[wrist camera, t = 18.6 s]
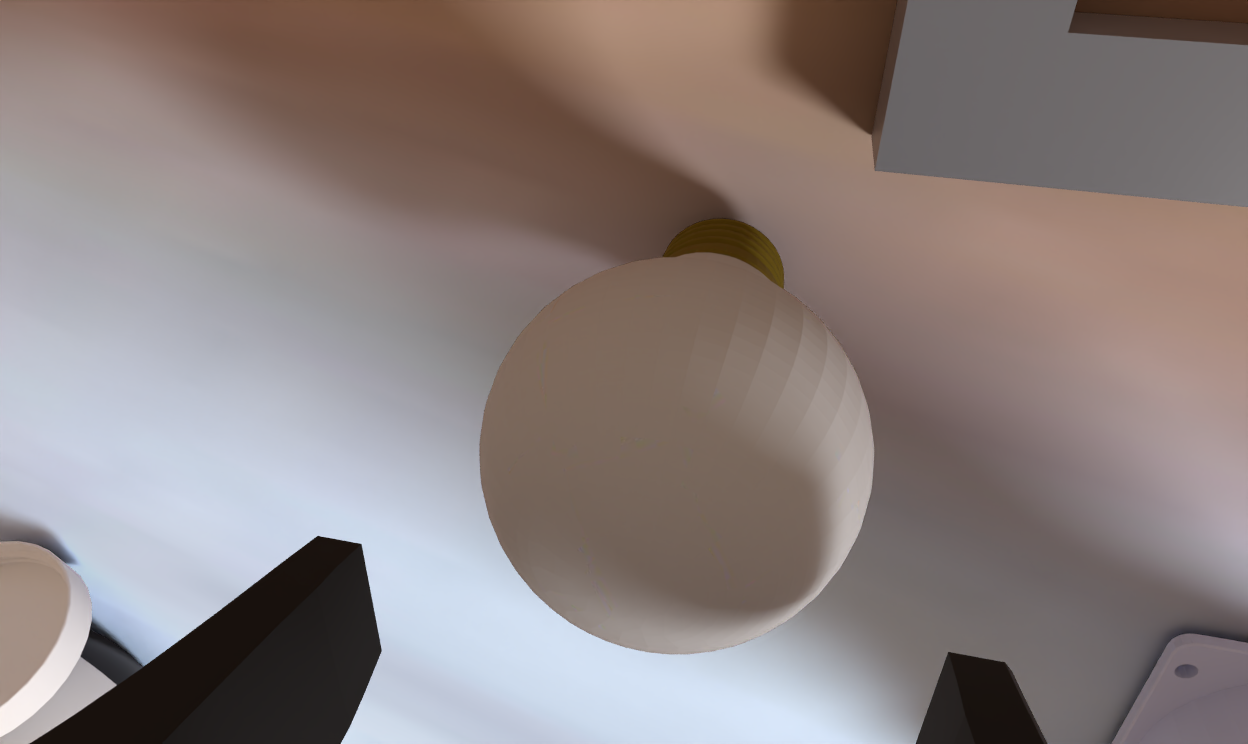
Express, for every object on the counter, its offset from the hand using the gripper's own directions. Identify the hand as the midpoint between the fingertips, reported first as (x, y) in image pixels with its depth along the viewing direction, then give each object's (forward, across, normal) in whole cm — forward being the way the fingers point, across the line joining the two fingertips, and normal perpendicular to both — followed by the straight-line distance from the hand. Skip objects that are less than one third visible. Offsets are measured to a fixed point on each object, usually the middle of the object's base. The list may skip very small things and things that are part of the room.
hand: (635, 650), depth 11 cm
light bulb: (+11, 0, 0) cm, 11 cm away
